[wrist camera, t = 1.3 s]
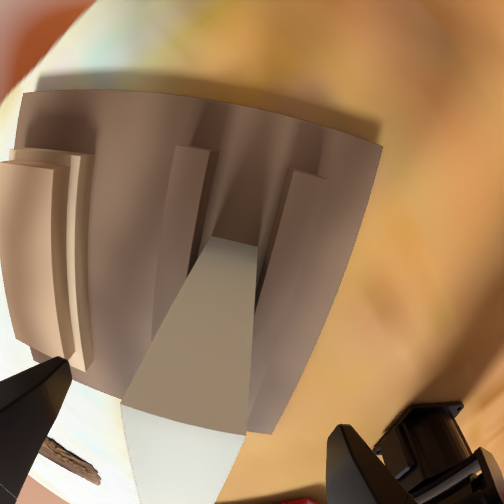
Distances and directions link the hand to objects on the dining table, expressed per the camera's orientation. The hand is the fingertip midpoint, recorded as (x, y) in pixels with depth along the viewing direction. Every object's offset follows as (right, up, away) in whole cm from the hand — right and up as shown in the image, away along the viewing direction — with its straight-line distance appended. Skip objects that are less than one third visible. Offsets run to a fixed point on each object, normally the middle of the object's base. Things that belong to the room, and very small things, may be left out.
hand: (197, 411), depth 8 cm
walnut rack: (-4, +3, +6) cm, 8 cm away
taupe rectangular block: (0, +2, +6) cm, 6 cm away
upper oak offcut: (-9, +4, +4) cm, 11 cm away
